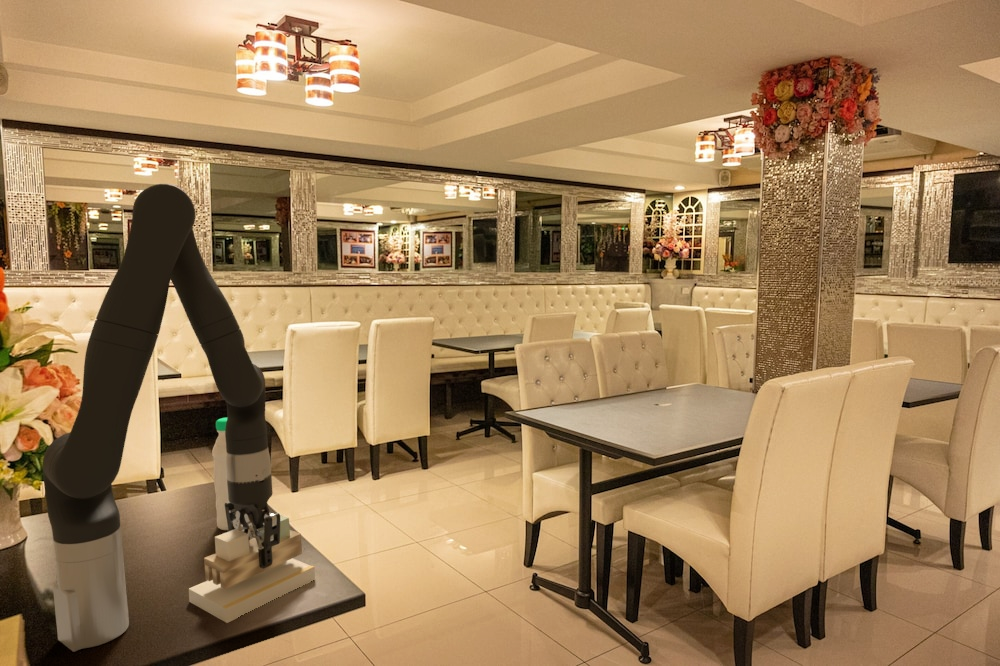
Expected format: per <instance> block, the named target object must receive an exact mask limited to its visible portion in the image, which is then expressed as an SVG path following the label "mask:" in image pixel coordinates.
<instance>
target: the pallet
mask: <svg viewBox="0 0 1000 666" xmlns="http://www.w3.org/2000/svg"><path fill="white" fill-rule="evenodd" d="M263 541H264V540H263ZM302 545H303V544H302V533H299V532H298V531H295V530H292V529H290V536H288V537H286V538H283V539H281V540H280V543H279V544H277V545H274V546H272V565H271V566H269V567H266V568H264V569H263V568H260V566H259V552H258V549H259V547H258V544H257V541H256V538H253V537H252V538H250V540H249V553H248V554H245V555H243V556H241V557H238V558H236V559H234V560H231V561H227V560H224V559H222V558H220V557H218V556H216V552H215V553H212V554H211V555H207V556H205V557H204V558H203V563H204V575H205V581H211V580H213V583H214V584H216V585H218V584H221V587H222V588H224V589H226V588H228V587H230V586H232V585H235V584H237V583H239V582H241V581H243V580H246V579H248V578H250V577H252V576H254V575H257V574H259V573H261V572H263V571H265V570H268V569H270V568H272V567H274V566H276V565H279V564H281V563H283V562H285V561H287V560H290V559H292V558H293V559H295V558H296V557H298V556H300V555H302V554H303V549H302Z"/></svg>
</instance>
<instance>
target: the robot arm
mask: <svg viewBox="0 0 1000 666" xmlns="http://www.w3.org/2000/svg"><path fill="white" fill-rule="evenodd" d="M131 216H132V218H131V222H130V229H129V232H128V233H129V234H128V238H127V242H126V246H125V250H124V254H123V257H122V260H121V262H120V264H119V267H118V269H117V270H116V272H115V275H114V277H113V279H112V281H111V282H110V285H109V287H108V289H107V292H106V294H105V296H104V298H103V300H102V302H101V304H100V308H99V310H98V312H97V313H96V314H97V315H96V318H95V320H94V324H93V327H92V330H91V332H90V336H89V339H88V342H87V346H86V350H85V355H84V365H83V375H82V376H83V377H82V394H81V395H82V396H81V401H80V405H79V408H78V411H77V415H76V418H75V420H74V422H73V425H72V426H71V427H72V428H71V431H70V432H67V433H64V434H61V435H60V436H58V437H57V438H55V439H54V440H53V441H52V442H51V443H50V444H49V445H48V447H47V449H46V450H45V452H44V456H43V459H42V477H43V478H42V479H43V485H44V486H43V487H44V494H45V495H44V496H45V501H46V502H45V503H46V509H47V510H46V512H47V515H48V520H49V524H50V526H51V531H52V541H53V552H54V562H55V570H56V571H55V572H56V579H57V580H56V581H57V582H55V583H53V584H52V590H53V591H52V592H53V602H54V612H55V614H54V615H55V622H56V630H57V633H56V634H57V640H58V641H59V642H60V643H62V644H63V645H64V646H65V647H67V649H69V650H70V651H72V652H73V653H74V652H77V651H79V650H81V649H87V648H94V647H97V646H101V645H103V644H106V643H109V642H110V641H113V640H114V639H117V638H118V637H120V636H121V635H122V634H123V633H125V632H126V631H127V630H128V628H129V626H130V620H129V607H128V598H127V596H128V595H127V587H126V586H127V585H126V574H125V564H124V563H125V562H124V553H123V552H124V551H123V541H122V540H123V539H122V531H121V530H122V529H121V528H122V527H121V517H120V516H121V515H120V510H119V508H118V506H117V502H116V499H115V496H114V491H113V485H112V484H113V483H114V481H115V479H116V478H117V476H118V474H119V472H120V469H121V464H122V459H123V455H124V451H125V444H126V439H127V433H128V428H129V425H130V424H129V423H130V419H131V416H132V413H133V409H134V407H135V404H136V401H137V400H138V399H137V398H138V395H139V394H140V390H141V388H142V385H143V382H144V379H145V375H146V372H147V369H148V368H149V367H148V366H149V365H150V362H151V359H152V356H153V353H154V350H155V347H156V343H157V341H158V337H159V333H160V330H161V328H162V327H161V326H162V323H163V318H164V316H165V315H164V314H165V310H166V307H167V306H166V305H167V300H168V295H169V289H170V283H172V285H173V288H175V291H176V293H177V295H178V298H179V301H180V303H181V305H182V307H183V309H184V312H185V315H186V317H187V319H188V321H189V323H190V326H191V328H192V330H193V331H194V332H193V333H194V335H195V337H196V339H197V341H198V343H199V344H200V347H201V348H202V350H203V353H204V354H205V356H206V359H207V361H208V365H209V369H210V371H211V374H212V377H213V381H214V384H215V385H216V388H217V391H218V392H219V394H220V396H221V398H222V399H223V400H224V401H225V402H226V413H227V417H226V418H227V422H226V427H225V437H226V451H227V457H226V473H227V486H228V499H229V502H227V503H225V511H226V518H227V524H228V530H227V532H229V531H231V530H234V529H236V530H239V531H242V532H244V533H247V534H248V539H249V540H250V539H251V537H252V538H256V541H257V544H258V547H259V549H258V552H259V566H260V568H263V569H264V568H266V567H269V566H271V565H272V546H274V545H277V544H279V543H280V515H281V514H280V513H279V512H276V513H271V512H270V508H269V505H268V502H269V499H270V498H271V497H272V496H273V494H274V493H273V479H272V465H271V464H272V463H271V462H272V461H271V455H270V452H269V451H270V450H269V446H268V445H269V442H268V428H267V423H266V379H265V374H264V372H263V371H262V369H261V368H260V367H259V366H258V365H256V364H254V363H253V361H252V360H251V359H252V358H250V355H249V353H248V351H247V349H246V345H245V344H246V343H245V339H244V338H245V337H244V334H243V332H242V329H241V327H240V325H239V323H238V321H237V318H236V316H235V314H234V312H233V310H232V308H231V306H230V304H229V302H228V300H227V299H226V297H225V295H224V294H223V292H222V290H221V289H220V287H219V286H218V284H217V283H216V281H215V279H214V277H213V276H212V274H211V273H210V271H209V269H208V267H207V265H206V263H205V261H204V259H203V257H202V255H201V252H200V250H199V247H198V243H197V239H196V236H195V234H194V230H193V227H194V225H195V220H196V209H195V205H194V203H193V201H192V199H191V197H190V196H189V195H188V193H187V192H185V191H184V190H183V189H182V188H180V187H178V186H176V185H174V184H170V183H159V184H154V185H151V186H148V187H146V188H145V189H143V190H142V191H141V192H140V193H139V194H138V195H137V196H136V198H135V200H134V202H133V207H132V213H131ZM235 519H236V520H235ZM233 520H235V524H234V526H233ZM263 526H264V530H262V531H258V529H259V528H262V527H263ZM250 533H251V536H249V535H250ZM262 534H264V541H263V540H262V537H261V536H262ZM272 535H274V538H272Z"/></svg>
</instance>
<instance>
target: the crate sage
mask: <svg viewBox="0 0 1000 666" xmlns="http://www.w3.org/2000/svg"><path fill="white" fill-rule="evenodd" d="M262 530H264V526H263V527H262V528H259V529H257V531H262ZM290 530H291V529H290V517H287V516H284V515H281V514H280V540H281V539H283V538H286V537H288V536H290ZM261 537H262V540H264V534H262V536H261ZM272 538H274V535H272Z"/></svg>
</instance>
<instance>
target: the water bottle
mask: <svg viewBox="0 0 1000 666" xmlns="http://www.w3.org/2000/svg"><path fill="white" fill-rule="evenodd" d="M226 422H227V417H222V418H219V419H217V420H216V421H215V429H216V432H217V433H218V436H217V438H216V439H215V443H214V445H213V447H212V451H211V455H212V458H213V460H212V461H213V464H212V466H213V467H212V468H213V469H212V470H213V483H214V485H213V486H214V492H215V496H216V497H215V509H216V525H217V528H218V529H220V530H221V531H222V530H223V531H228V524H227V518H226V511H225V503H227V502H229V499H228V486H227V473H226V457H227V451H226V437H225V427H226ZM235 520H236V519H235ZM235 520H233V526H234V524H235Z"/></svg>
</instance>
